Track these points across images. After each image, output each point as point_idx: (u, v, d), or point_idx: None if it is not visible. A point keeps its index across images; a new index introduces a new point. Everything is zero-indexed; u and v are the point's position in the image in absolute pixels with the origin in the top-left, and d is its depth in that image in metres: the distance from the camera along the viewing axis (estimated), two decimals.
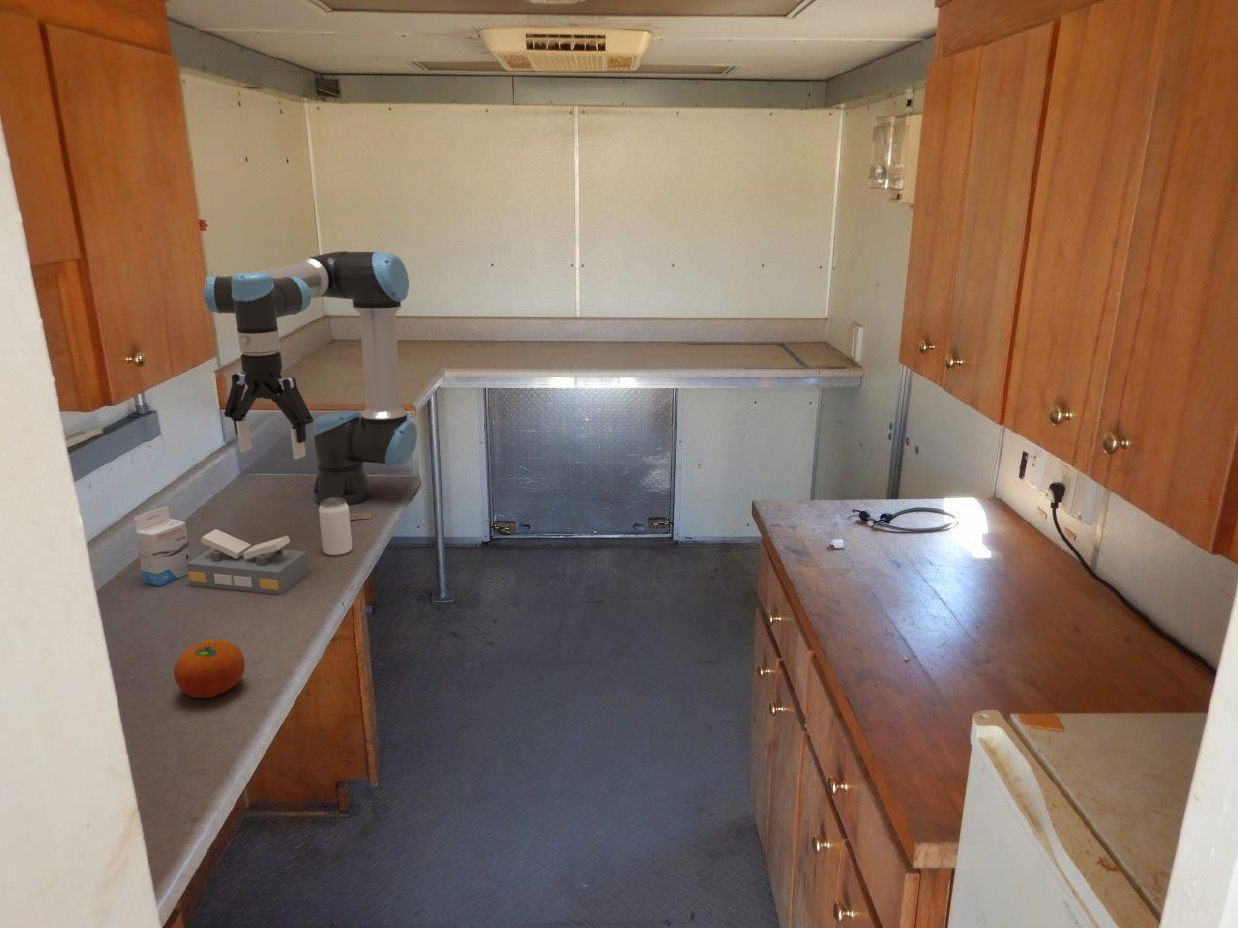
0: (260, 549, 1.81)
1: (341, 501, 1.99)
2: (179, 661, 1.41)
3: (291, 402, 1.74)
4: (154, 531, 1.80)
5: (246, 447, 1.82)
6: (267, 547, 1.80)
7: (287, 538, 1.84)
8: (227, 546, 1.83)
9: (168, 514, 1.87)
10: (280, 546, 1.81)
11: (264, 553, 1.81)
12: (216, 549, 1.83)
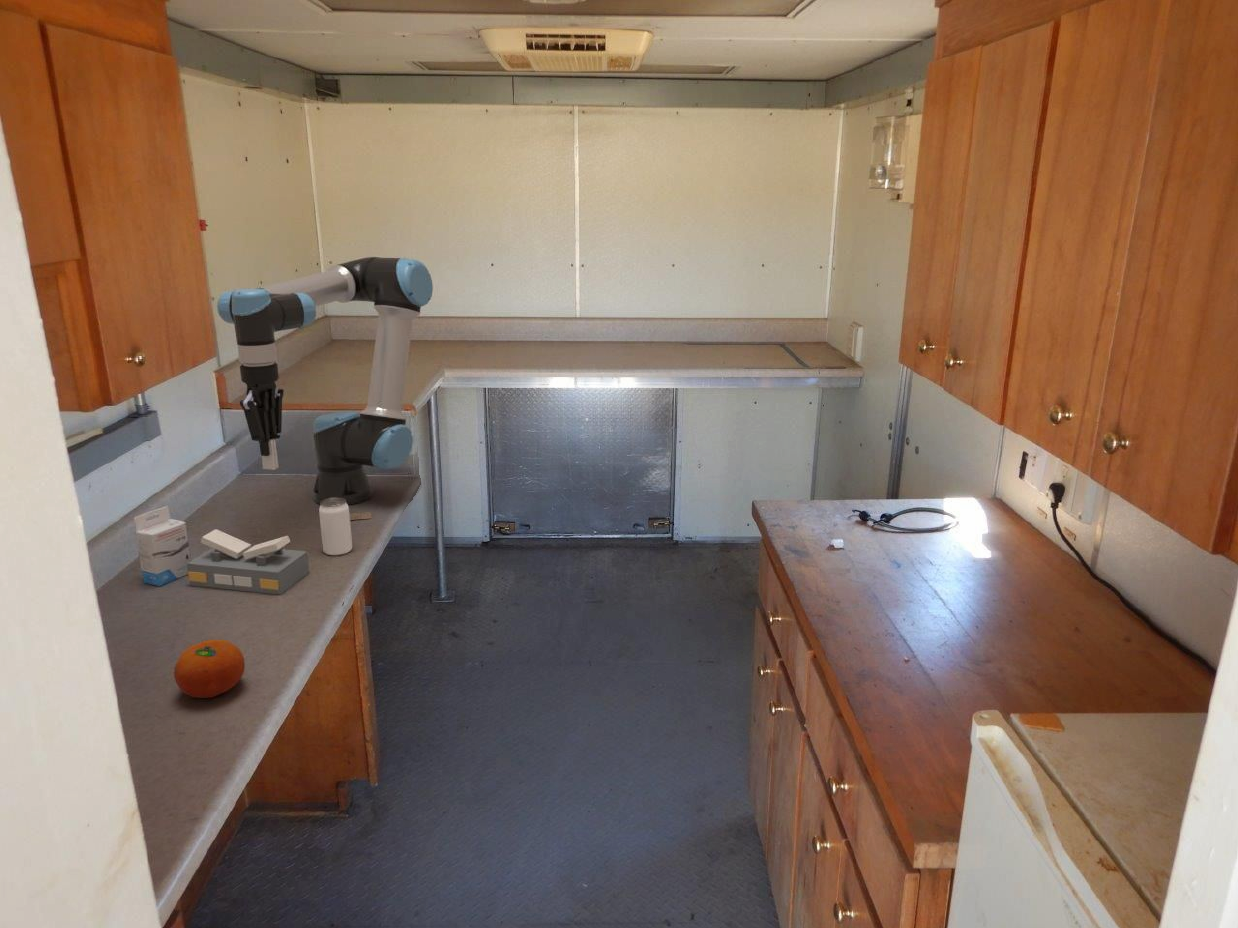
0: (260, 549, 1.81)
1: (341, 501, 1.99)
2: (179, 661, 1.41)
3: None
4: (154, 531, 1.80)
5: None
6: (267, 547, 1.80)
7: (287, 538, 1.84)
8: (227, 546, 1.83)
9: (168, 514, 1.87)
10: (280, 546, 1.81)
11: (264, 553, 1.81)
12: (216, 549, 1.83)
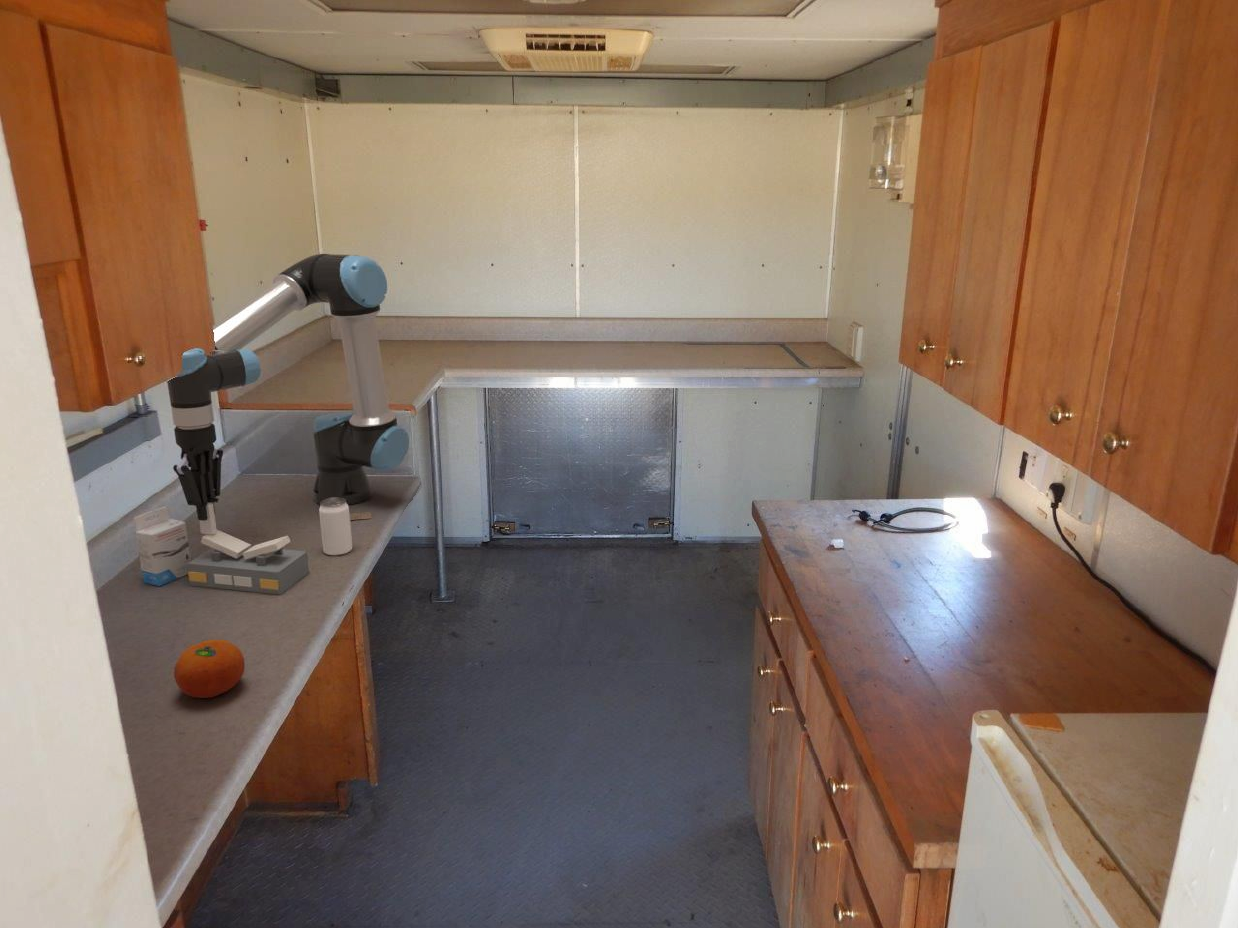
0: (260, 549, 1.81)
1: (341, 501, 1.99)
2: (179, 661, 1.41)
3: None
4: (154, 531, 1.80)
5: None
6: (267, 547, 1.80)
7: (287, 538, 1.84)
8: (227, 546, 1.83)
9: (168, 514, 1.87)
10: (280, 546, 1.81)
11: (264, 553, 1.81)
12: (216, 549, 1.83)
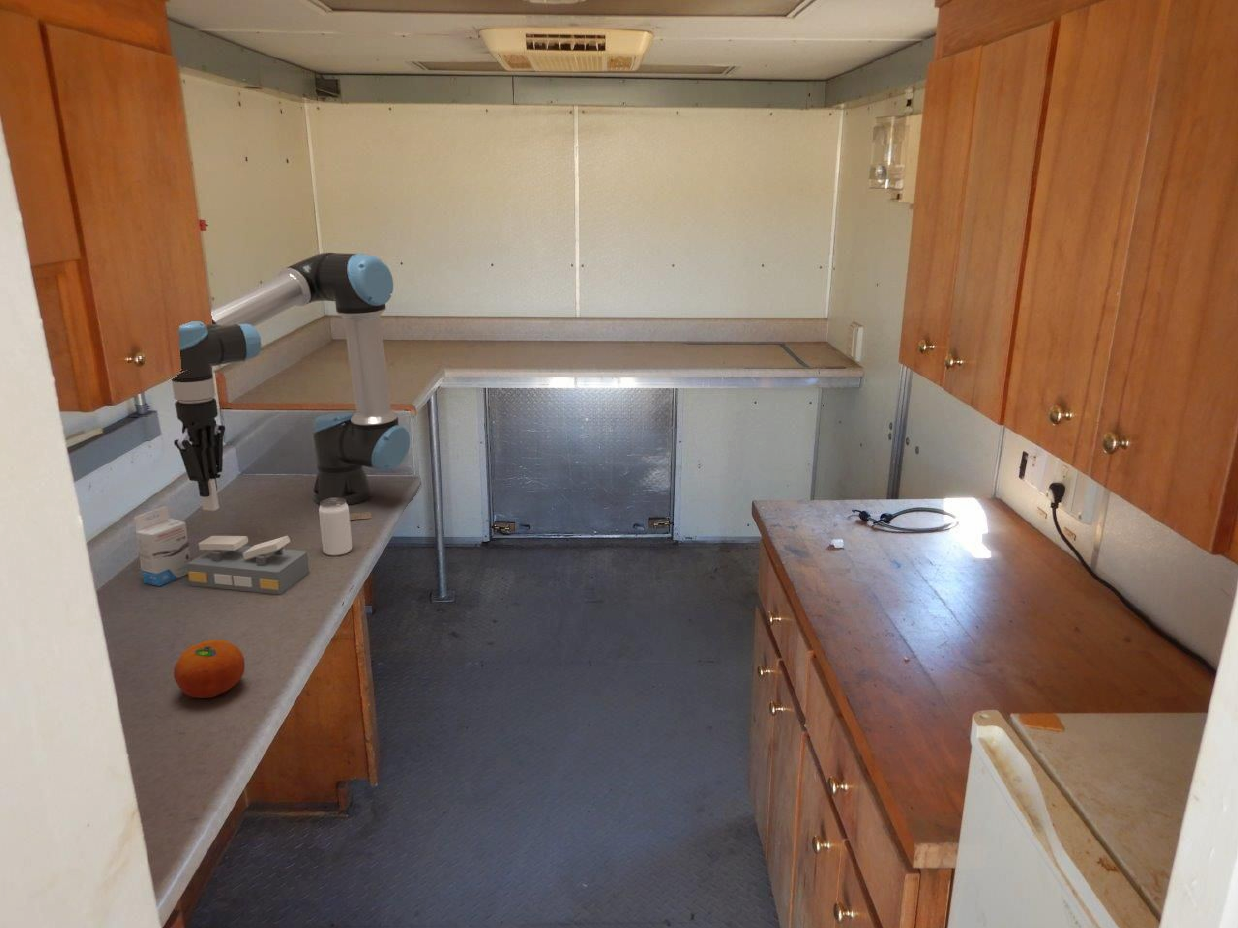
0: (260, 549, 1.81)
1: (341, 501, 1.99)
2: (179, 661, 1.41)
3: None
4: (154, 531, 1.80)
5: None
6: (267, 547, 1.80)
7: (287, 538, 1.84)
8: (223, 543, 1.83)
9: (168, 514, 1.87)
10: (280, 546, 1.81)
11: (264, 553, 1.81)
12: (215, 550, 1.83)
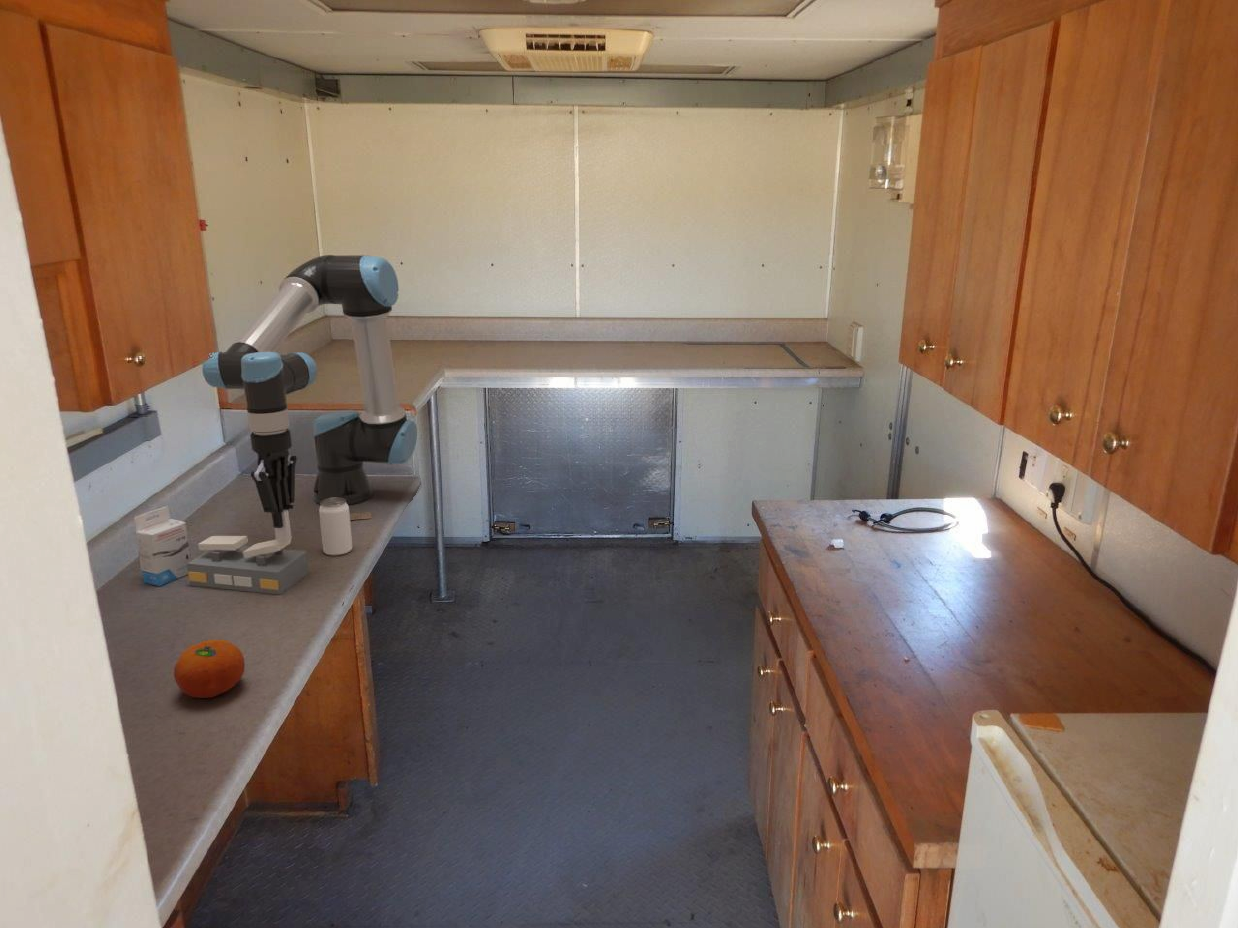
0: (260, 549, 1.81)
1: (341, 501, 1.99)
2: (179, 661, 1.41)
3: None
4: (154, 531, 1.80)
5: None
6: (268, 547, 1.80)
7: None
8: (223, 543, 1.83)
9: (168, 514, 1.87)
10: (281, 547, 1.81)
11: (264, 553, 1.81)
12: (214, 550, 1.83)
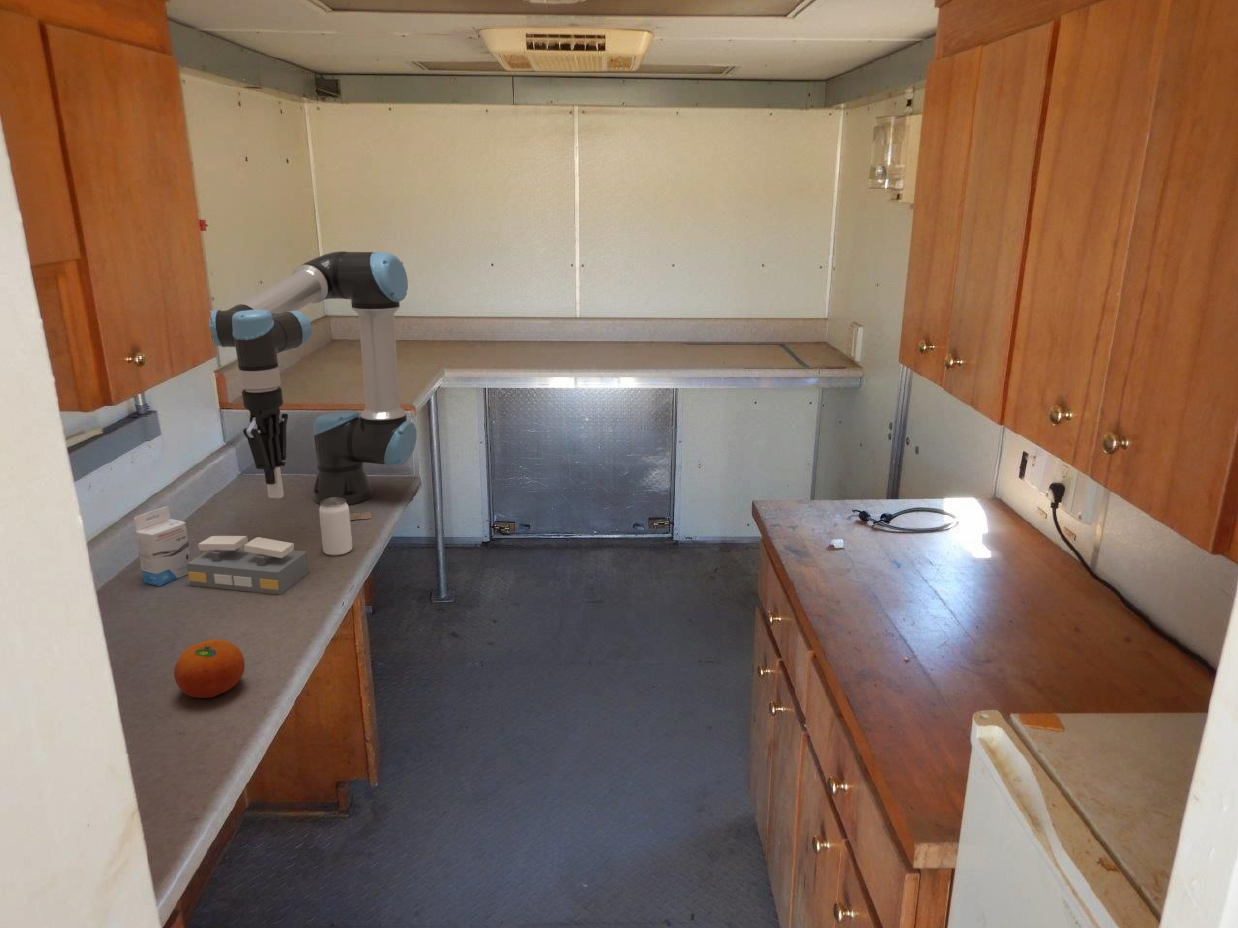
0: (264, 549, 1.81)
1: (341, 501, 1.99)
2: (179, 661, 1.41)
3: None
4: (154, 531, 1.80)
5: None
6: (272, 551, 1.80)
7: (292, 546, 1.84)
8: (223, 543, 1.83)
9: (168, 514, 1.87)
10: (284, 554, 1.81)
11: (266, 554, 1.81)
12: (214, 550, 1.83)
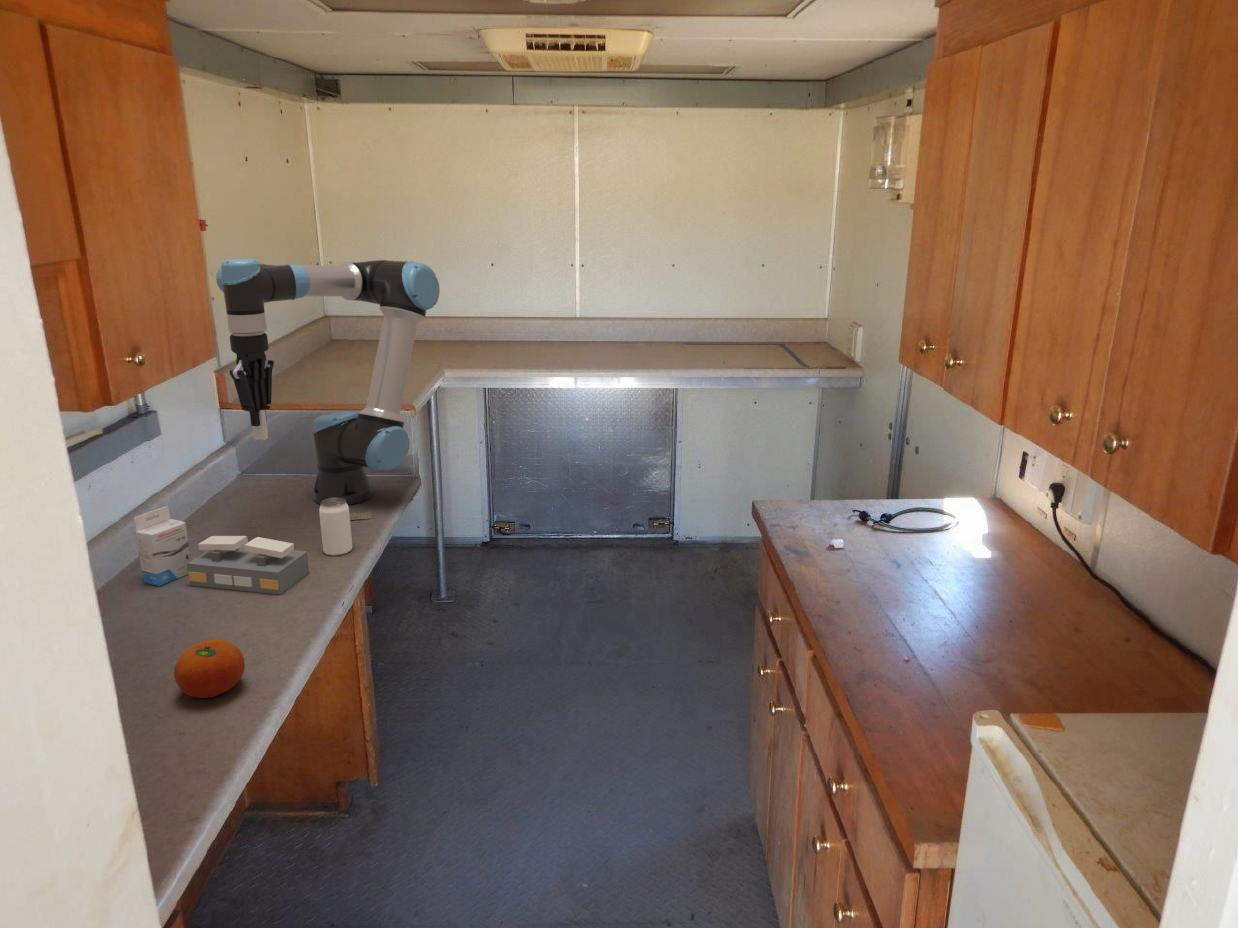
0: (264, 550, 1.81)
1: (341, 501, 1.99)
2: (179, 661, 1.41)
3: None
4: (154, 531, 1.80)
5: None
6: (272, 551, 1.80)
7: (292, 546, 1.84)
8: (223, 543, 1.83)
9: (168, 514, 1.87)
10: (284, 554, 1.81)
11: (266, 555, 1.81)
12: (214, 550, 1.83)
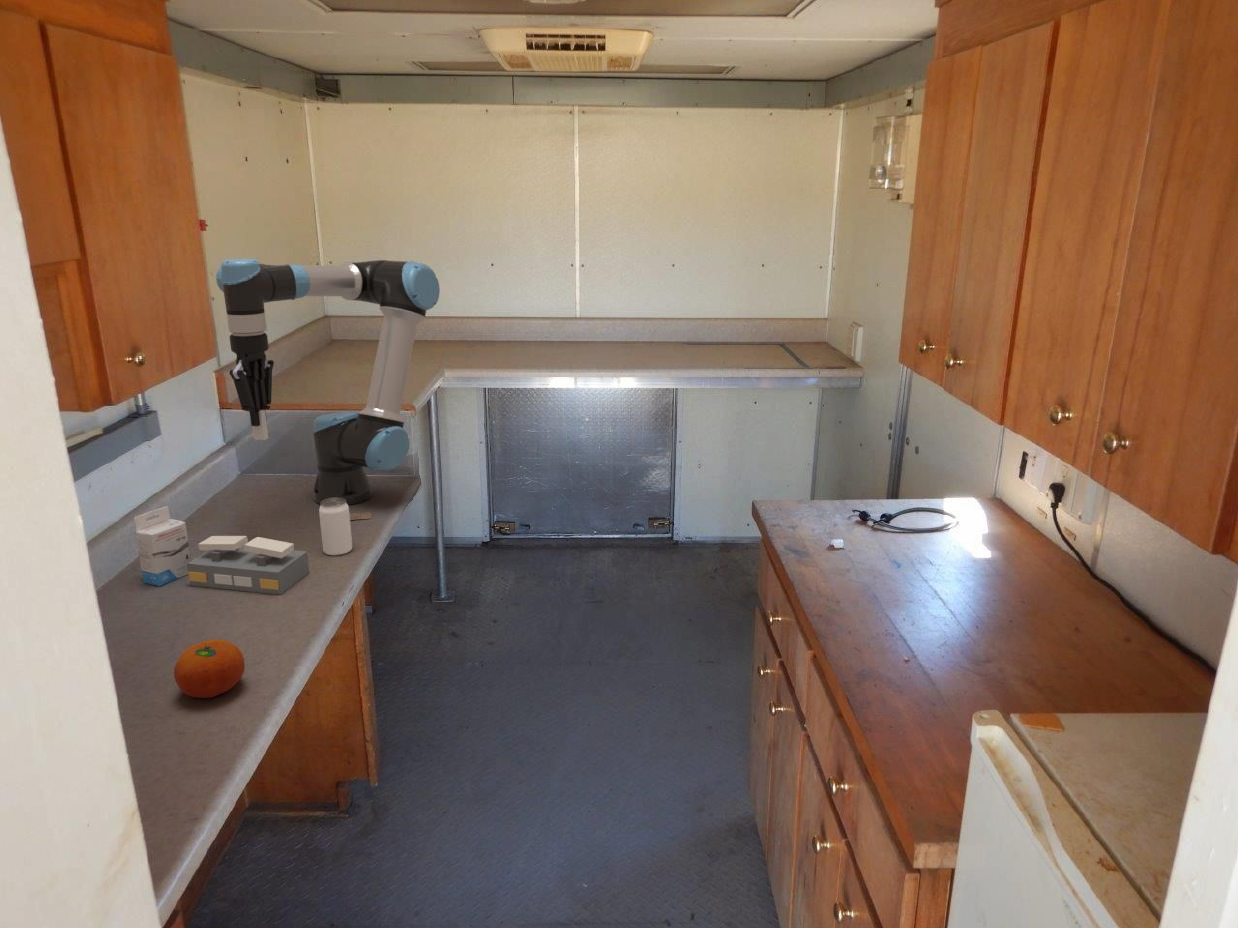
0: (264, 550, 1.81)
1: (341, 501, 1.99)
2: (179, 661, 1.41)
3: None
4: (154, 531, 1.80)
5: None
6: (272, 551, 1.80)
7: (292, 546, 1.84)
8: (223, 543, 1.83)
9: (168, 514, 1.87)
10: (284, 554, 1.81)
11: (266, 555, 1.81)
12: (214, 550, 1.83)
